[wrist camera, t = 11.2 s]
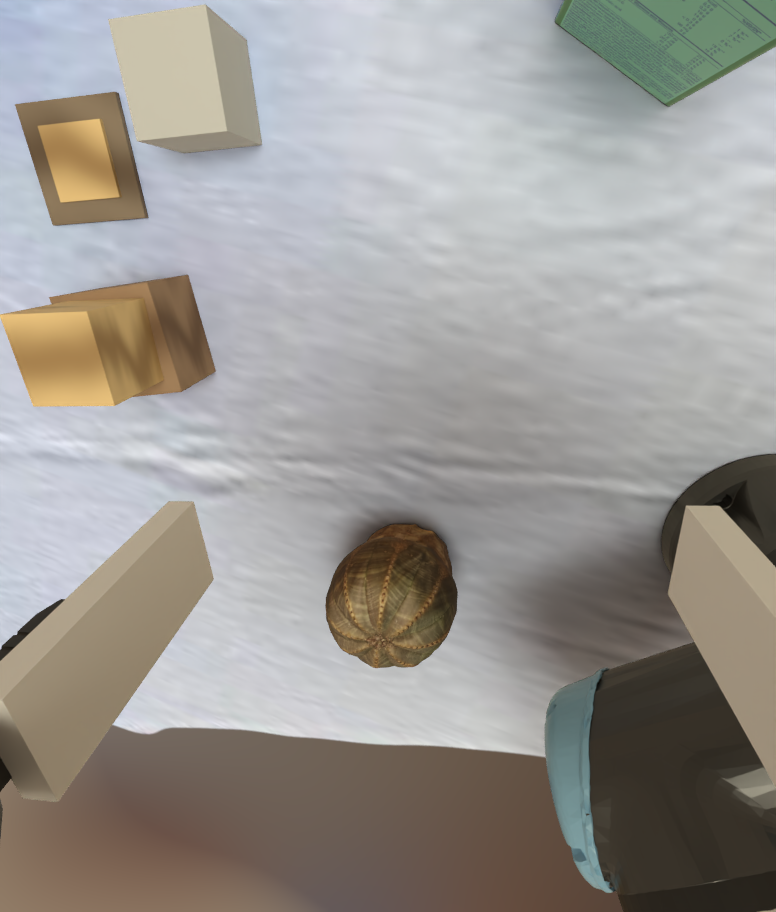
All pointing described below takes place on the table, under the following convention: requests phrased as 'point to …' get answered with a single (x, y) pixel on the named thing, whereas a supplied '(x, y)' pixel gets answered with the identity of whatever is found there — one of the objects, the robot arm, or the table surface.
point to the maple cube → (84, 351)
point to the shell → (393, 597)
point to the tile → (83, 158)
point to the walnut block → (165, 328)
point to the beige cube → (187, 80)
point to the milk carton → (673, 38)
